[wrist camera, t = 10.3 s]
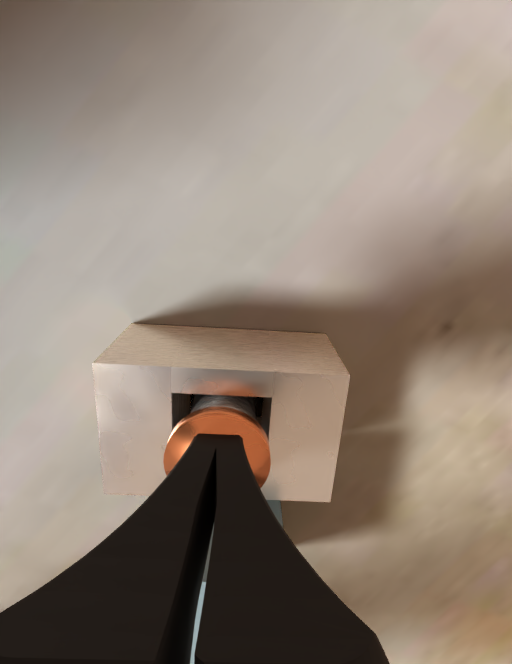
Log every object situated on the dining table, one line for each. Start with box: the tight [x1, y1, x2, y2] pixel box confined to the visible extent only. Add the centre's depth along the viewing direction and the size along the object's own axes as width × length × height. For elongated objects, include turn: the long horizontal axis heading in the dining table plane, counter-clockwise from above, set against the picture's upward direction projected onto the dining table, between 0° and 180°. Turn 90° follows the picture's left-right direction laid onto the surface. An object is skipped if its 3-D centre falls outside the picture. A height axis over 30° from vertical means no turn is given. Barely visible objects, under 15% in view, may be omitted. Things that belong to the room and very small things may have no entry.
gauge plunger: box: [163, 394, 271, 489], centre depth 13 cm, size 3×3×5 cm
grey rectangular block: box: [92, 323, 350, 502], centre depth 14 cm, size 8×5×4 cm, turn 86°
